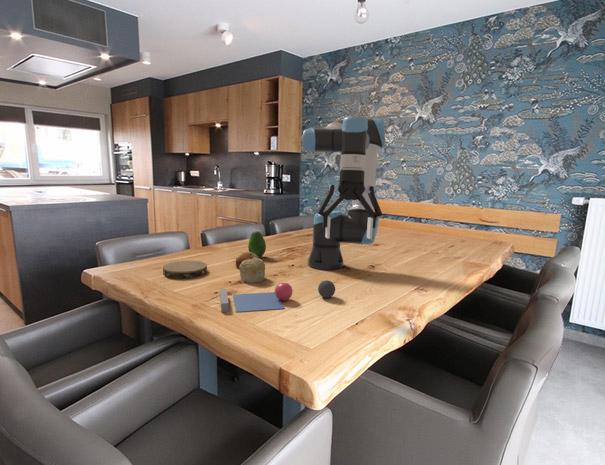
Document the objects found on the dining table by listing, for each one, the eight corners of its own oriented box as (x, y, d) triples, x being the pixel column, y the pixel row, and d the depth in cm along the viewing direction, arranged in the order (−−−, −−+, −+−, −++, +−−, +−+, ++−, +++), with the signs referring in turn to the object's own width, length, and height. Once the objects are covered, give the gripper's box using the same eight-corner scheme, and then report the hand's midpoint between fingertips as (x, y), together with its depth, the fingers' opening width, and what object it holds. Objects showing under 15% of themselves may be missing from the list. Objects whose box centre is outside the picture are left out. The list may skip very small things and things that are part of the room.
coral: (253, 284, 123) (253, 263, 122) (234, 279, 128) (234, 259, 127) (270, 278, 130) (270, 258, 129) (251, 273, 136) (251, 254, 134)
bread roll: (260, 273, 149) (262, 255, 151) (255, 269, 139) (257, 250, 141) (237, 272, 150) (240, 254, 152) (231, 268, 140) (233, 248, 142)
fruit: (264, 259, 157) (265, 233, 155) (246, 259, 158) (247, 232, 155) (266, 255, 165) (267, 230, 163) (249, 254, 165) (249, 229, 163)
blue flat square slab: (276, 292, 116) (276, 292, 116) (284, 308, 102) (284, 308, 102) (232, 295, 112) (232, 294, 112) (236, 312, 99) (236, 311, 99)
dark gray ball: (331, 293, 116) (332, 277, 115) (337, 299, 111) (338, 283, 110) (315, 294, 115) (316, 278, 114) (320, 300, 110) (321, 283, 109)
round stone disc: (194, 265, 146) (194, 258, 145) (214, 274, 135) (214, 266, 134) (156, 272, 135) (155, 264, 134) (174, 282, 124) (174, 274, 123)
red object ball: (290, 296, 113) (290, 279, 112) (294, 302, 107) (294, 285, 107) (273, 297, 111) (273, 280, 110) (276, 303, 106) (276, 286, 105)
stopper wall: (226, 296, 111) (226, 289, 110) (228, 311, 99) (228, 303, 99) (220, 297, 110) (219, 289, 110) (221, 311, 99) (221, 303, 98)
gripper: (314, 167, 102) (311, 239, 105) (396, 171, 106) (390, 240, 109) (310, 168, 110) (307, 235, 113) (386, 171, 113) (381, 236, 117)
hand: (348, 238), depth 111 cm, fingers open, 13 cm apart
